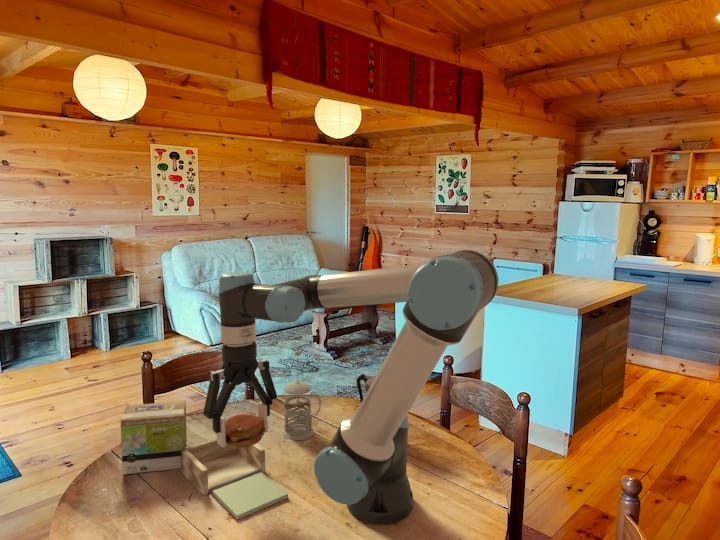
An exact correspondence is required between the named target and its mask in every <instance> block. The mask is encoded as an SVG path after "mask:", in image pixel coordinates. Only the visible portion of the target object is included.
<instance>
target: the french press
mask: <svg viewBox="0 0 720 540" xmlns="http://www.w3.org/2000/svg"><path fill="white" fill-rule="evenodd" d="M301 355H302V351H300V350H295V351H294V356H297V357H296V359H297V364H296V365H297V366H296V367H297V368H296V369H297V373H296V375H297V381H291V382H290V383H288V384H286V385H284V387H283V391H284V392H285V393H286V394H289V395H294V396H291V397H289V398H287V399H285V405H284V428H283V429H282V430H281V431H280V433H281V435H282V437H283V438H285V439H288V440H293V441H296V440H301V441H302V440H305V439H308V438H311V437H312V436H313V435H314V433H315V429H314V428H313V427H312V418H315V417H316V416H318V415H319V412H320V409H321V405H322V401H321V398H320V396H319V395H318V394H317V393H316V392H314V391H311V390H312V386H311V385H310V384H308V383H307V382H305V381H299V356H301ZM309 392H310V394H309V398H308V397H305V396H301V395H305V394H308V393H309ZM295 395H296V396H295ZM312 396H313V397H315V398H316V399H317V402H318V410H317V411H316V412H315V413H313V414H311V413H312V412H311V411H312V409H311V407H312V405H311V403H310V402H311V400H310V399H311V398H312ZM293 408H294V409H293ZM291 409H292V410H291Z"/></svg>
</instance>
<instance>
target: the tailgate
mask: <svg viewBox="0 0 720 540" xmlns="http://www.w3.org/2000/svg"><path fill="white" fill-rule="evenodd" d="M210 490H211V492H210V493H212V496H213V497H215V499H217V501H218V502H219V503H220V504H221V505H222V506H223V507H224V508H225V510H227V511H228V512H229V514H230V515H231V516H233V517H234V519H236V520H240V519H242V518H244V517H247V516H249V515H252V514H253V513H256V512H257V511H261V510H263V509H265V508H267V507H269V506H272V505H275V504H277V503H279V502H281V501H284V500H286V499H288V498H289V493H288V492H287V491H286V490H284V489H283V488H282V487H281V486H280V485H278V484H277V483H276V482H274V480H272V479H271V478H270V477H268V476H267V475H266V474H265V472H263V473H262V472H261V470H260V469H258V470H256V471H253V472H250V473H248V474H245V475H242V476H240V477H237V478H234V479H232V480H229V481H226V482H224V483H221V484H218V485H216V486H213V487H211V488H210Z"/></svg>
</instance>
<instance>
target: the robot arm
mask: <svg viewBox="0 0 720 540" xmlns="http://www.w3.org/2000/svg"><path fill="white" fill-rule="evenodd" d="M218 279H219V280H218V299H219V313H220V335H221V336H220V339H221V343H222V344H221V357H222V358H221V359H222V366H221V369H219V370H215V371H214V370H210V371H209V372H208V377H209V385H208V389H207V394H206V398H205V402H204V409H203V413H202V414H203V416H205V417H206V418H207V419H209V420H211V421H212V430H213V432H214V433H215V434H216V438H217V444H219V445H220V446H221V447H226V435H225V421H226V418H225V417H224V416H223V413H224V411H225V409H226V407H227V405H228V402H229V400H230V398H231V396H232V393H233V391H234V390H235V389H236V387H237V386H240V385H241V384H243V383H244V384H246V383H247V384H248V383H249V384H250V386H251V388H252V389H253V390H254V392H255V394H256V395H257V397H258V398H259V400H260V401H258V402H257V410H258V411H257V415H258V416H257V417H259V418H260V419H262V421H263V423H264V427H265V433H264V434H266V433H268V432H269V429H268V427H269V426H268V417H270V415H271V405H272V404H273V400H276V399H277V398H278V394H277V391H276V387H275V385H274V382H273V381H274V380H273V378H272V374H271V372H270V361H269V360H266V359H264V358H260V359H259V360H257V355H258V353H257V352H258V351H257V342H256V339H257V332H256V331H257V329H256V328H257V325H256V320H263V321H269V322H276V323H279V324H283V323H292V324H293V323H295V322H298V320H299V319H300V317H301V316H303V313H304V312H306V311H310V310H318V309H319V310H320V309H327V308H340V307H341V308H342V307H353V306H367V305H368V306H369V305H370V306H371V305H382V304H397V303H398V304H399V303H405V304H404V306H403V308H402V315H403V318H404V320H405V322H404V324H403V325H402V327H401V329H400V331H399V332H398V334H397V337H396V338H395V341H394V343H393V344H392V346H391V348H390V350H389V351H388V353H387V354H386V357H385V358H384V361H383V362H382V364H381V366H380V368H379V369H378V371H377V373H376V375H375V376H374V377H375V379H374V380H373V382H372V384H371V386H370V388H369V390H368V391H367V393H366V392H365V395H364V396H363V401H362V402H361V401H360V404H359V406H358V407H357V408H356V411H355V414H353V415H349V416H347V417H345V418H344V419H343V420H342V422H341V423H340V425H339V427H338V429H337V431H336V432H335V434H334V436H333V437H332V440H331V441H330V442H329V444H328V445H327V446H325V447H323V448H322V449H321V450H320V451H319V453H318V455H316V456H315V460H314V462H313V472H314V476H315V478H316V479H317V481H316V482H317V484H318V486H319V487H320V489H321V490H322V492H323V493H324V494H325V495H326V496H327V497H329V498H330V499H331V500H333V501H335V502H336V503H338V504H341V505H346V507H347V509H348V511H349V512H350V514H351V515H352V516H353V517H355V518H357V519H358V520H360V521H363V522H365V523H369V524H374V525H391V524H395V523H398V522H401V521H403V520H405V519H406V518H408V516H409V515H410V514H411V513H412V511H413V509H414V494H413V491H412V489H411V484H410V481H409V479H408V478H409V477H408V474H407V463H408V459H407V458H408V440H409V439H408V438H409V436H408V435H409V427H410V426H409V419H408V414H409V412H410V410H411V409H412V407H413V405H414V403H415V402H416V399H417V398H418V396H419V394H421V392H422V390H423V388H424V387H425V384H426V383H427V381H428V380H429V378H430V376H431V374H432V373H433V371H434V369H435V368H436V367H437V365H438V363H439V361H440V359H441V357H443V354H444V353H445V351H446V349H447V348H448V346H452V345H457V344H460V343H461V342H462V340H463V338H464V336H465V334H466V333H467V332H468V330H469V328H470V327H471V325H472V323H473V321H474V320H475V318H476V316H477V315H478V313H479V312H480V311H481V310H482V309H484V308H485V307H486V306H488V305H489V304H490V303H491V302H492V300H493V299H494V298H495V296H496V294H497V292H498V287H499V275H498V271H497V268H496V266H495V265H494V263H493V262H492V261H491V259H490V258H488V257H487V256H486V255H484V254H483V253H480V252H478V251H475V250H471V249H470V250H469V249H468V250H467V249H463V250H458V251H454V252H452V253H449V254H442V255H437V256H435V257H430V258H429V259H428V260H427V261H426V262H424V263H419V264H418V263H417V264H411V265H402V266H393V267H392V266H391V267H383V268H375V269H373V268H372V269H366V270H357V271H348V272H340V273H331V274H324V275H323V274H322V275H321V274H310V275H306V276H304V277H301V278H298V279H297V278H296V279H294V280H293V279H291V280H287V281H284V282H280V283H274V284H261V283H256V281H255V276H254V275H253V273H251V272H248V271H247V272H246V271H237V272H236V271H235V272H233V271H232V272H227V273H223V274H221V275H220V277H219V278H218ZM257 369H259V373H260V376H261V379H262V383H263V385H264V388H263V387H262V385H261V383H260V381H259V379H258V377H257V376H256V374H255V373H256V372H257ZM223 376H224V377H225V378H224V380H223V379H222V378H223ZM222 380H223V383H222V387H221V381H222ZM220 387H221V390H220ZM219 391H220V392H219Z"/></svg>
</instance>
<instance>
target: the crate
mask: <svg viewBox="0 0 720 540" xmlns="http://www.w3.org/2000/svg"><path fill="white" fill-rule="evenodd" d="M181 466H182V469H181V473H182V474H183V475H184V476H185V477H186V478H187V479H188V480H189V482H191V484H192V485H193V486H194V487H195V488H196V489H197V490H198V491H199V492H200V493H201V494H202V495H203V496H205V495H207V494H209V493H212V492H211V490H210V488H211V487H213V486H216V485H218V484H221V483H224V482H226V481H229V480H232V479H234V478H237V477H240V476H242V475H245V474H248V473H250V472H253V471H256V470H258V469H260V470H261V472H262V473H265V472H266V449H265V448H264V447H262V445H260V444H258V443H256V444H255V445H252V446H248V447H238V446H236V445H232V446H231V445H229V444H226V447H221V446H220V445H219V444H217V437H216V438H214V439H213V438H212V439H210V440H207V441H204V442H201V443H198V444H194V445H191V446H188V447H186V448H185V449H181Z"/></svg>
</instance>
